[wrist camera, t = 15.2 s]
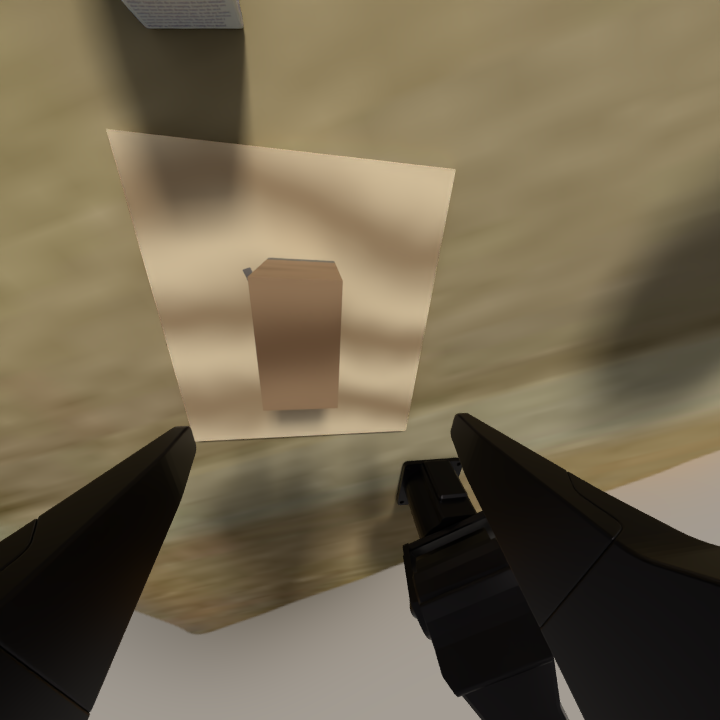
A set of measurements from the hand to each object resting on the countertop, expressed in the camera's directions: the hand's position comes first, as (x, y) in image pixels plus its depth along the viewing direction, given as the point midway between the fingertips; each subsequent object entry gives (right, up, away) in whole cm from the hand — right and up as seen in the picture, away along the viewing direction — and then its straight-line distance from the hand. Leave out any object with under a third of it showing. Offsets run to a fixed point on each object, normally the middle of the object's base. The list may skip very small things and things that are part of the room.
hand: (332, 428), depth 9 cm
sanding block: (-3, +6, +9) cm, 11 cm away
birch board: (-3, +5, +10) cm, 12 cm away
